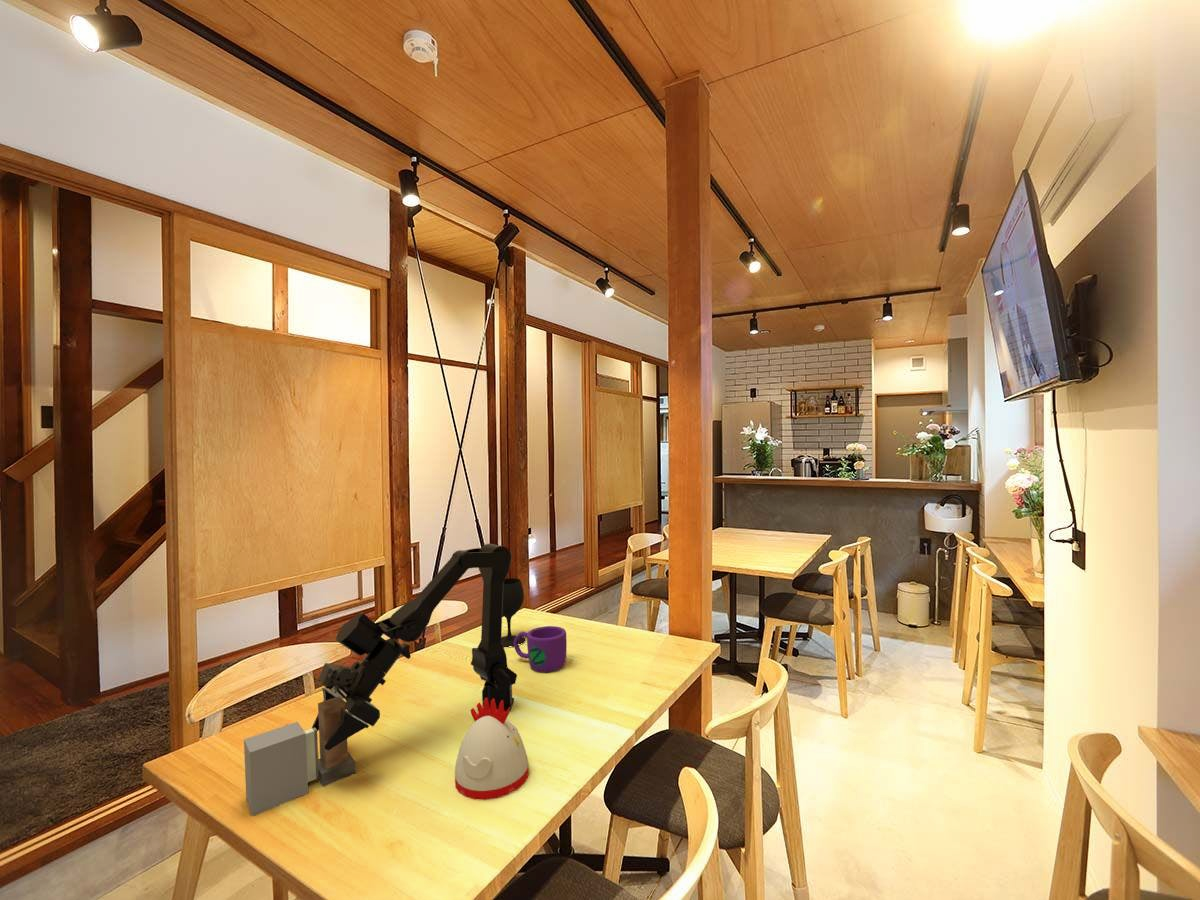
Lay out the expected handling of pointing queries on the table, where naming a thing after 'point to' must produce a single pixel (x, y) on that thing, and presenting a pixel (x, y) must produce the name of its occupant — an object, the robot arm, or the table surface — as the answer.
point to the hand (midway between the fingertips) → (319, 740)
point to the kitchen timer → (490, 755)
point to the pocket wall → (275, 767)
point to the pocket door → (312, 754)
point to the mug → (544, 648)
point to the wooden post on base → (337, 759)
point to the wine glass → (511, 606)
